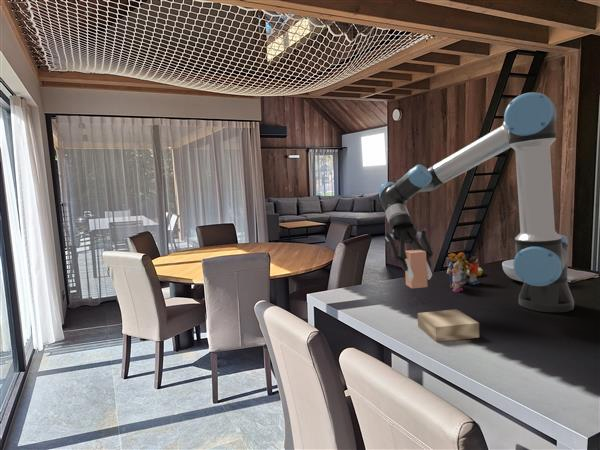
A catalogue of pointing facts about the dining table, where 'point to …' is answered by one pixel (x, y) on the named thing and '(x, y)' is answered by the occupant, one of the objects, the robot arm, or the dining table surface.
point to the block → (417, 268)
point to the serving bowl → (510, 270)
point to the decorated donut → (476, 274)
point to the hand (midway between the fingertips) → (420, 277)
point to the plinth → (448, 325)
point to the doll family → (462, 270)
